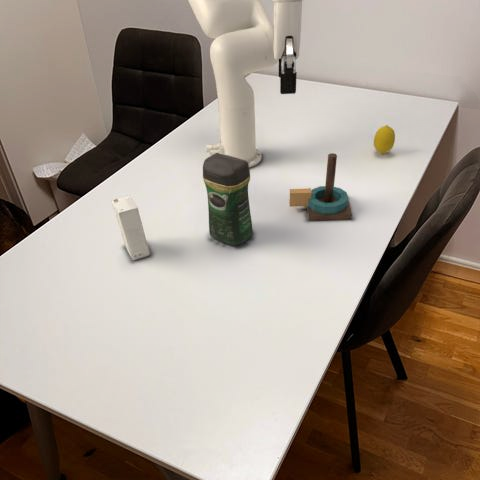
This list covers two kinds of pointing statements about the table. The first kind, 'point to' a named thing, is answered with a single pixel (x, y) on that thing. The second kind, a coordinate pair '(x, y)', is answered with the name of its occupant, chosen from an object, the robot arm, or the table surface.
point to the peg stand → (330, 195)
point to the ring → (310, 199)
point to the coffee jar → (228, 198)
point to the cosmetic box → (131, 227)
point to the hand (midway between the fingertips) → (286, 84)
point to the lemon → (384, 139)
